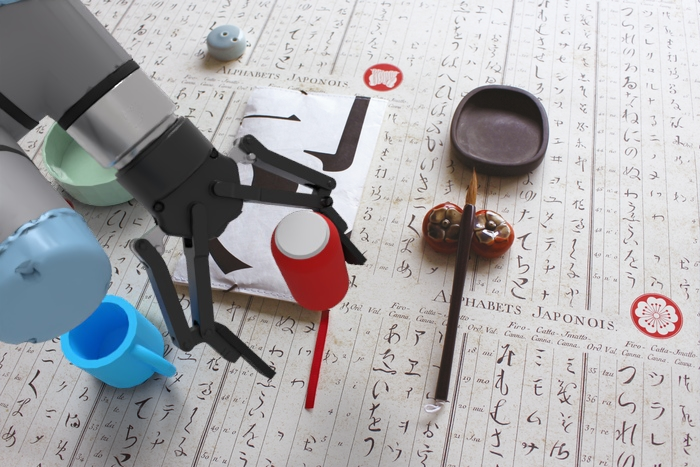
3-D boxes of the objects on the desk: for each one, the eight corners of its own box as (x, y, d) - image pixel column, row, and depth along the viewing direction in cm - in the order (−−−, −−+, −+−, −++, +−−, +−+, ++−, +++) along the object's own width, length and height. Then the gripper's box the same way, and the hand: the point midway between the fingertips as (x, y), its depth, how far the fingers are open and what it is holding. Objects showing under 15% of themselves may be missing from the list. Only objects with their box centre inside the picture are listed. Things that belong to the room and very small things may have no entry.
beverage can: (308, 252, 61) (287, 193, 50) (360, 273, 59) (349, 216, 48) (281, 301, 58) (253, 249, 48) (334, 324, 56) (317, 276, 46)
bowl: (111, 226, 75) (94, 206, 71) (38, 171, 80) (18, 150, 76) (192, 147, 81) (181, 125, 76) (119, 102, 86) (105, 78, 82)
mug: (81, 370, 65) (43, 349, 58) (123, 310, 69) (92, 283, 62) (165, 414, 62) (136, 397, 55) (204, 349, 66) (181, 325, 59)
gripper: (235, 60, 52) (370, 221, 60) (17, 254, 43) (210, 414, 51) (267, 36, 46) (413, 220, 54) (19, 258, 37) (240, 440, 45)
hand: (315, 315), depth 52 cm, fingers open, 13 cm apart
